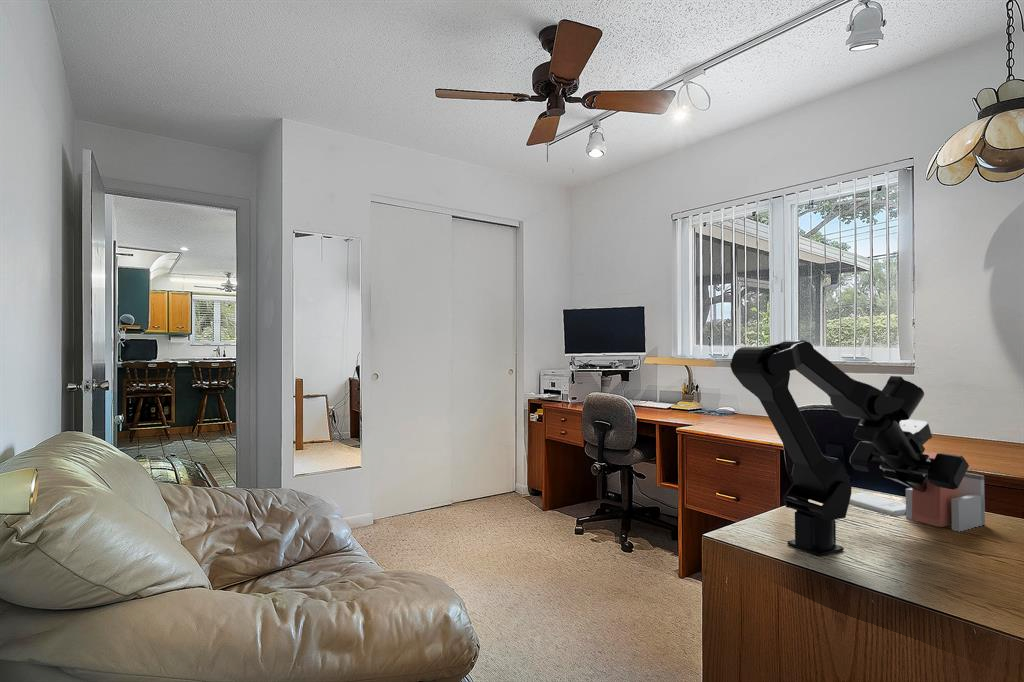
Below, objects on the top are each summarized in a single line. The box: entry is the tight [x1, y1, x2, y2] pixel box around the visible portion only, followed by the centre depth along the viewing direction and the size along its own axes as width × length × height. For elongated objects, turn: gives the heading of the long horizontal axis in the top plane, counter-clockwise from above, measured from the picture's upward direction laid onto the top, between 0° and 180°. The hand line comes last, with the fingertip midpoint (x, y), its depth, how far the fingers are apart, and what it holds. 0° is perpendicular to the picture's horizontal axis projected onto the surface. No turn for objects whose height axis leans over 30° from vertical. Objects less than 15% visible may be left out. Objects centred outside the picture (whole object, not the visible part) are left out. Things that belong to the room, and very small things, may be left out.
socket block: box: [905, 472, 986, 533], centre depth 109 cm, size 9×9×10 cm
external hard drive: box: [849, 492, 906, 517], centre depth 120 cm, size 2×8×12 cm
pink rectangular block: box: [912, 452, 958, 528], centre depth 108 cm, size 7×5×13 cm
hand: (923, 490), depth 106 cm, fingers closed
